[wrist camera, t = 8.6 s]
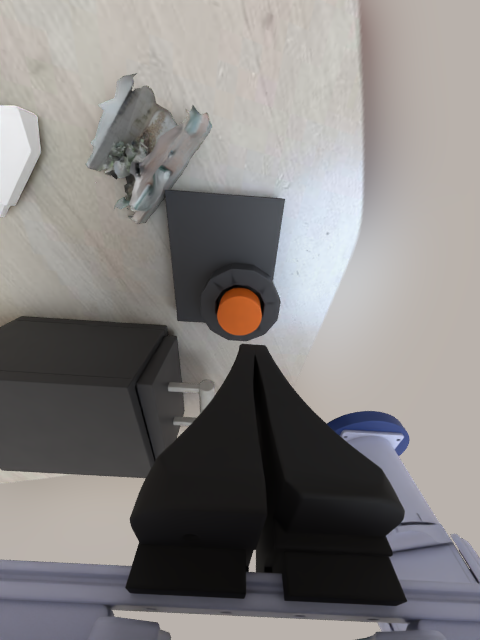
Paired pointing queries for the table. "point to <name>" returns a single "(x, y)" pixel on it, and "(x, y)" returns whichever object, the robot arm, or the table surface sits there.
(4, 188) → the spray bottle
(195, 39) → the table surface
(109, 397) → the box
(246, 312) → the button
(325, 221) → the table surface
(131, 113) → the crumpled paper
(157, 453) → the drawer
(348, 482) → the robot arm
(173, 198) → the control block
